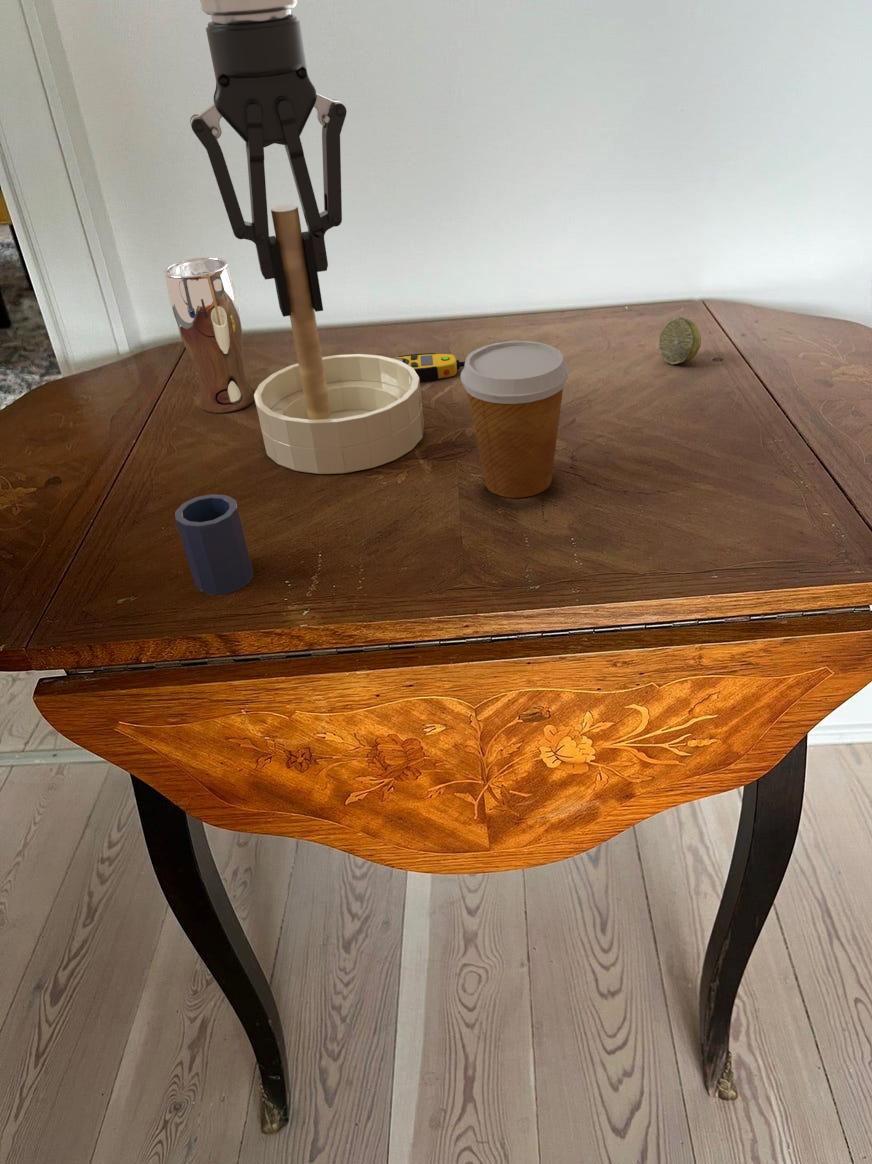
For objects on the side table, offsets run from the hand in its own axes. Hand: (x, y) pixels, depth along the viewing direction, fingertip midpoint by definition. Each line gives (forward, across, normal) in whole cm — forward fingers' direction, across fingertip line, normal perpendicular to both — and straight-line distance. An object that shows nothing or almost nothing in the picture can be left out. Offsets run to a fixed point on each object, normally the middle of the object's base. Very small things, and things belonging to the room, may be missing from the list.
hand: (301, 308), depth 91 cm
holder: (+14, +12, +23) cm, 29 cm away
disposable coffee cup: (+14, -16, +16) cm, 27 cm away
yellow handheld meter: (+14, -16, -12) cm, 24 cm away
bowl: (+14, -2, +1) cm, 14 cm away
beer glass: (+14, +9, -14) cm, 22 cm away
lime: (+14, -42, -4) cm, 45 cm away
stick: (+11, 0, 0) cm, 11 cm away
